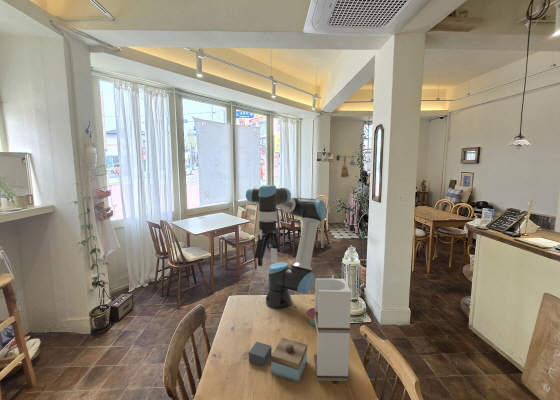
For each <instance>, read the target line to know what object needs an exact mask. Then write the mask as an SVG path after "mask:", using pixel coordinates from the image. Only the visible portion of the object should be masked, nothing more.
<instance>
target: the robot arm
mask: <svg viewBox="0 0 560 400" xmlns="http://www.w3.org/2000/svg"><path fill="white" fill-rule="evenodd" d="M245 198H246V200H247V202H249V203H256V204H258V216H259V217H258V219H259V222H258V229H259V230H260V231H261V233H259V234H257V242H256V249H255V254H254V258H255V259H257V273H260V274H265V257H264V256H265V253H266V249H267V246H268V244H270V246H271V248H270V262H271V263H272V264H270V265H269V267H268V272H267V273H268V291H267V294H266V297H265V304H266V305H267V306H268V307H270V308H273V309H284V308H285V309H286V308H288V307H289V306H290V305H291V304H292V297H291V296H292V295H291V293H290V291H293V292H297V293H301V294H308V293H309V292H310V291H311V290H312V287H313V286H314V282H315V274H314V273H313V269H312V267H311V262H312V258H313V251H314V246H315V243H316V242H315V241H316V236H317V231H318V225H320V224H321V223H322V220H325V219H326V217H327V205H326V203H325V201H324V200H323V199H319V198H304V197H292V193H291V191H290V190H289V189H288V188H286V187H280V188H279V187H277V186H276V185H274V184H261V185H260V186H259V187H257V186H253V187H251V186H250V187H249V188H247V190H246V192H245ZM277 209H279V210H282V211H283V212H284V213H286V214H289V215H292V216H296V217H299V218H300V217H301V220H302V228H301V233H300V236H299V241H298V248H297V252H296V258H295V262H294V263H293V264H292V265H291V267H290V266H289V263H287V262H286V261H285V262H283V261H281V262H280V261H279V262H278V258H277V257H278V253H277V252H278V249H279V248H280V246H279V244H280V243H279V238H278V233H277V221H276V220H277ZM289 290H290V291H289Z"/></svg>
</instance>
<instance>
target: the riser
mask: <svg viewBox="0 0 560 400" xmlns="http://www.w3.org/2000/svg"><path fill="white" fill-rule="evenodd" d="M271 355H272V345H270V344H266V343H264V342H263V343H262V342H260V341H256V342H255V343H254V344H253V346H252V348H250V350H249V352H248V362H249V363H252V364H255V365H259V366H262V367H265V366H266V364H267V363H268V361H269V360H270V358H271Z"/></svg>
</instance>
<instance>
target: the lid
mask: <svg viewBox="0 0 560 400" xmlns="http://www.w3.org/2000/svg"><path fill="white" fill-rule="evenodd" d="M306 352H307V353H308V344H306V343H303V342H299V341H295V340H291V339H287V338H284V337H281V339H280V341H279V342H278V344H277V345H276V347H275V349H274V350H273V352H272V353H271V356H270V358H271V359H270V361H271V362H275V363H278V364H281V365H284V366H287V367H290V368H293V369H297V370H299V369H300V366H301V364H302V361H303V359H304V356H305V354H306ZM271 362H270V363H271Z"/></svg>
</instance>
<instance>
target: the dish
mask: <svg viewBox="0 0 560 400" xmlns="http://www.w3.org/2000/svg"><path fill="white" fill-rule="evenodd" d="M307 360H308V351H307V352H306V354H305V356H304V359H303V361H302V364H301V366H300V369H299V370H297V369H293V368H290V367H287V366H284V365H281V364H278V363H275V362H270V363H271V364H270V365H271V366H270V367H271V369H270V372H271V374H272V375H275V376H278V377H280V378H283V379H287V380H289V381H293V382H295V383H297V384H299V382H300V381H301V377H302V375H303V373H304V370H305V368H306V365H307V363H308V361H307Z"/></svg>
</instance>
